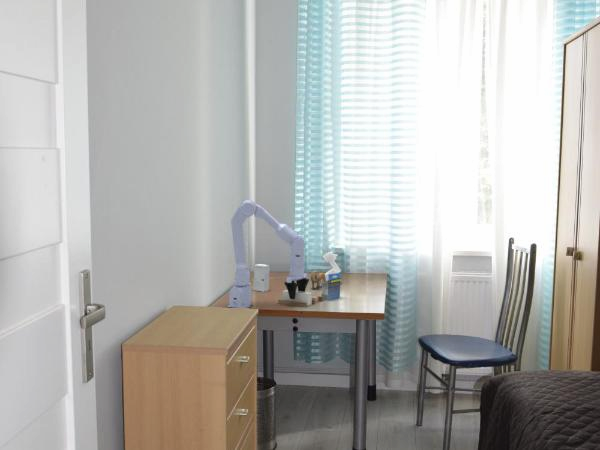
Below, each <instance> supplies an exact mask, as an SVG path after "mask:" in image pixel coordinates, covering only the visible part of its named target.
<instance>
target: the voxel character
mask: <svg viewBox="0 0 600 450" xmlns="http://www.w3.org/2000/svg"><path fill="white" fill-rule="evenodd" d="M338 256H339V254H338V253H337V254H336V253H333V251H331V252H330V251H328V252H327V253H325V254H324V255H322V258H323V260H324V261H326V262H328V264H329V265H330V266H331V267H332V268H331V269H329V270H328V271H326V273H324V274H325V278H326V281H328V280H329V279H328V274H334V273H339V272H340V273H341V272H342V269H341V268H340V267H339V265H338V263H336V260H337V257H338ZM335 277H337V276H335V275H334V276H333V278H335ZM341 281H342V280H341V279H340V283H341Z"/></svg>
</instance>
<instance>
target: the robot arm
mask: <svg viewBox="0 0 600 450" xmlns="http://www.w3.org/2000/svg"><path fill="white" fill-rule="evenodd" d="M253 215H254V216H253ZM252 216H253V217H255V218H261V219H262V220H263V221H265V222H266V224H268V225H270V227H272V228H273V229H275V235H277V236H278V237H279V238H280V239H281V240H283V241H284V242H285V243H286V244H287V245H289V246H290V251H291V252H290V256H289V257H290V259H289V260H290V261H289V262H290V263H289V265H290V266H289V267H290V268H289V272H290V273H289V276H288V277H286V281H284V285H285V287H286V290H288V293H289V297H290V299H295V296H296V291H302V292H306V288H307V286H308V285H309V284H308V283H309V282H310V278H308V273H307V272H306V273H305V248H306V243H305V240H304V238H303V237H302V236H301V235H300V234H299V233H298V232H295V231H294V230H293V229H292V228H291V226H290V225H289V224H286V223H280V222H279V221H278V220H277V219H276V218H274V217H273V216H272V215H271V214H270V213H269V212H268V211H267V210H266V209H265V208H263V206H261V205H259V204H258V203H255V202H254V201H253V200H252V199H245V200H244V201H242V202H241V203H240V204H239V205H238V206H237V209H236V210H235V212H234V214H233V216H232V217H231V221H230V223H231V232H232V241H233V242H232V243H233V251H234V258H235V274H234V283H233V287H230V290H229V292H228V300H229V301H228V302H229V303H228V305H227V308H231V309H232V308H233V309H240V308H245V309H248V308H251V307H254V304H252V282H250V281H251V272H250V270H249V268H248V262H247V255H246V247H245V246H246V245H245V237H244V228H243V227H244V226H243V224H244V223H245V221H247V220H248V218H250V217H252Z"/></svg>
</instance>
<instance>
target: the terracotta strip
mask: <svg viewBox="0 0 600 450" xmlns="http://www.w3.org/2000/svg"><path fill="white" fill-rule="evenodd" d="M316 296H317V295H312V299H313V300H315V302H318V297H316Z"/></svg>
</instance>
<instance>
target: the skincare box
mask: <svg viewBox="0 0 600 450" xmlns="http://www.w3.org/2000/svg"><path fill="white" fill-rule="evenodd" d="M253 270H254V272H253V291H256V292H262V293H263V292H264V291H265V292H269V288H270V287H269V286H270V264H263V263H257V264H254V269H253ZM265 292H264V293H265Z"/></svg>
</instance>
